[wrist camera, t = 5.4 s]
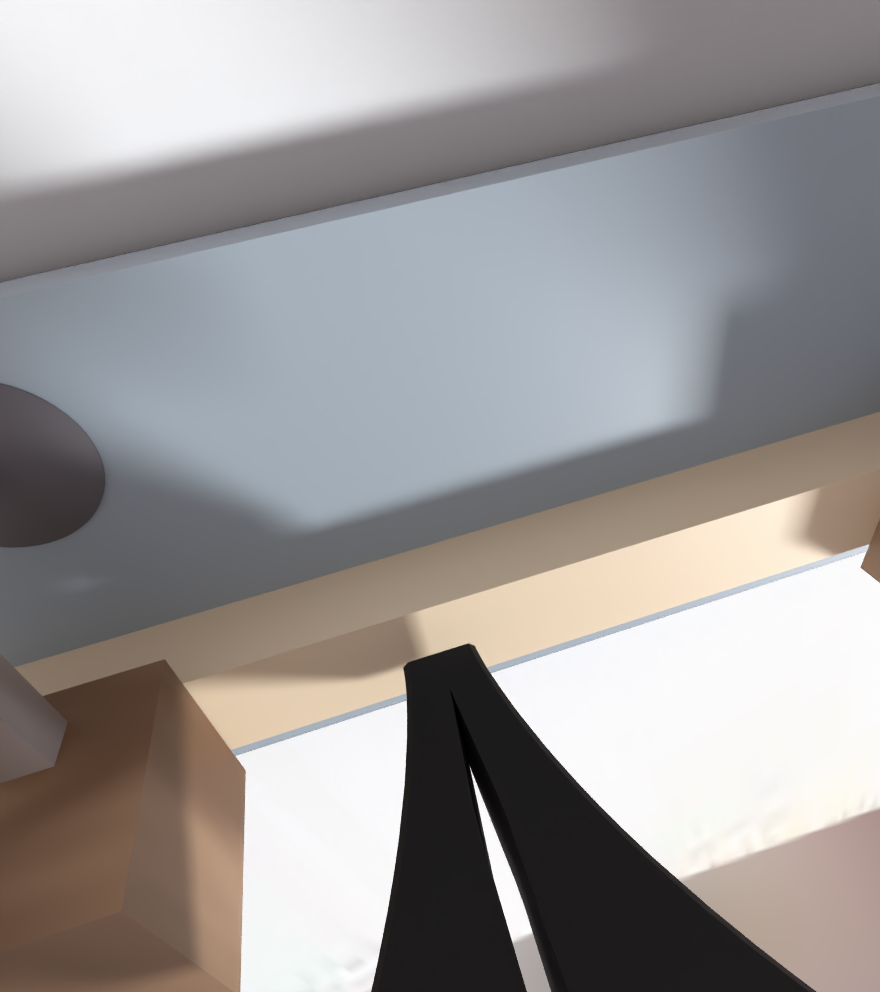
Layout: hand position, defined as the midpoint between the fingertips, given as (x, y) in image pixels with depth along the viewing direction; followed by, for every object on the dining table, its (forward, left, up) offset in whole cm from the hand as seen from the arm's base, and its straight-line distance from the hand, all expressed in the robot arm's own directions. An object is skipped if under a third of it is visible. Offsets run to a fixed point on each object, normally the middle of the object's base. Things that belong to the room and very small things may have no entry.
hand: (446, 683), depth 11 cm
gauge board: (-3, -2, -4) cm, 5 cm away
